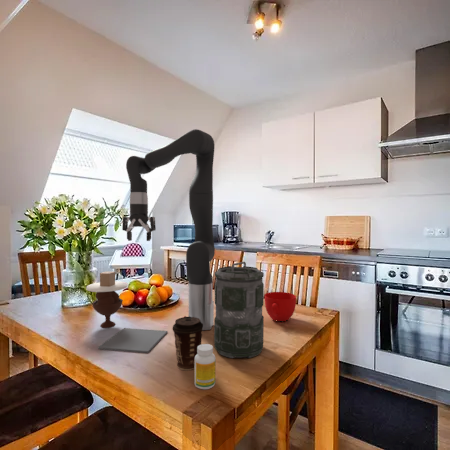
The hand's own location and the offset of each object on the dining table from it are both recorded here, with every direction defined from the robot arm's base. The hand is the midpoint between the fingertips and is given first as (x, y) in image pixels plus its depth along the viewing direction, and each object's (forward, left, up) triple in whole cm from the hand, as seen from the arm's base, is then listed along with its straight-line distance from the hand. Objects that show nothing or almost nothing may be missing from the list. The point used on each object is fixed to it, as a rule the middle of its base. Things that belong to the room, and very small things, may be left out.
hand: (139, 240), depth 131 cm
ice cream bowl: (+6, +15, -32) cm, 36 cm away
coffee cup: (-34, +40, -32) cm, 62 cm away
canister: (-47, +27, -32) cm, 63 cm away
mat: (-11, +27, -32) cm, 43 cm away
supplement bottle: (-41, +49, -32) cm, 72 cm away
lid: (+6, +15, -17) cm, 24 cm away
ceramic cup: (-60, -2, -32) cm, 68 cm away
